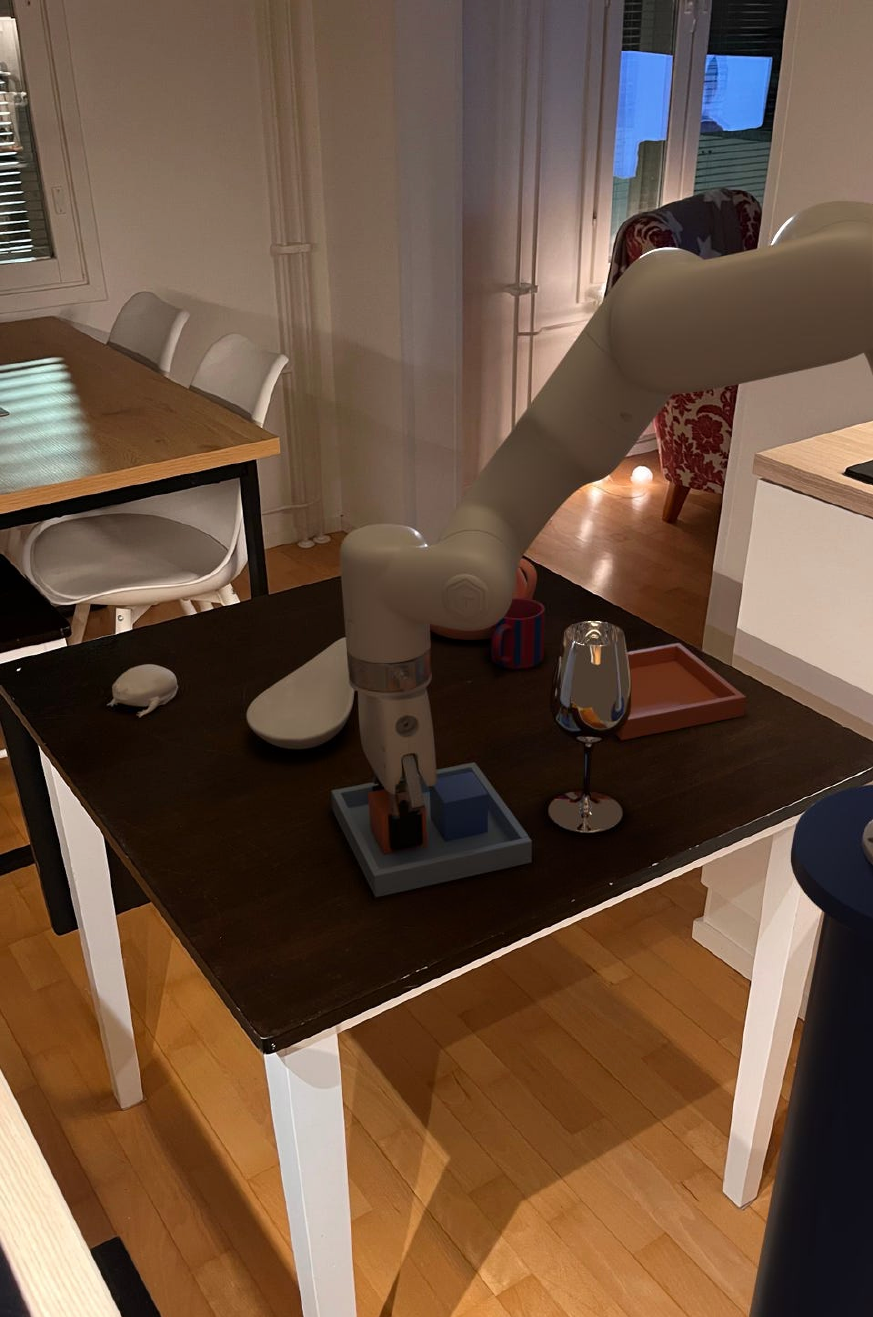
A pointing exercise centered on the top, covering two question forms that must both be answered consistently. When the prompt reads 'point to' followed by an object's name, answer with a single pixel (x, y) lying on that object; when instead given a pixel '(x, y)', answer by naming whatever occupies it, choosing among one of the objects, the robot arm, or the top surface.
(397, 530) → the robot arm
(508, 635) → the mug
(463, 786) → the blue block
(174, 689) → the frog figurine
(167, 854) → the top surface
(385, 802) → the terracotta block
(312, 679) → the spoon rest
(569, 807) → the wineglass
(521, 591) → the teapot
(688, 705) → the terracotta tray
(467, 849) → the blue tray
